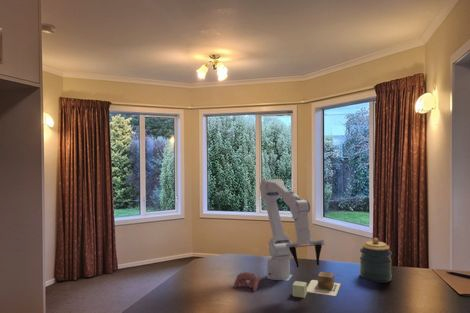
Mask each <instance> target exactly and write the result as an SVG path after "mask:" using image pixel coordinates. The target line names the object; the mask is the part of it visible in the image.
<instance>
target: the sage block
mask: <svg viewBox="0 0 470 313" xmlns="http://www.w3.org/2000/svg"><path fill="white" fill-rule="evenodd" d="M307 287H308V282H307V281H306V282H305V281H298V280H295V281H294V282H293V283H292V297H296V298H297V297H298V298H303V299H305V298H306V296H307V295H308V292H307Z"/></svg>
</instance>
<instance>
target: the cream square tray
mask: <svg viewBox="0 0 470 313" xmlns="http://www.w3.org/2000/svg"><path fill="white" fill-rule="evenodd" d="M340 287H341V283H339V282H334V287H333V289H332V290H327V289H320V288H318V279H311V280H310V282H309V283H308V284H307V293H313V294H318V295H319V294H320V295H326V296H332V297H333V296H334V297H337V294H338V292H339V289H340Z"/></svg>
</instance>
